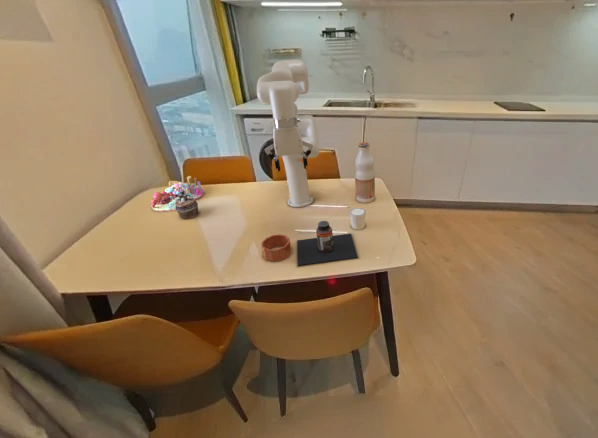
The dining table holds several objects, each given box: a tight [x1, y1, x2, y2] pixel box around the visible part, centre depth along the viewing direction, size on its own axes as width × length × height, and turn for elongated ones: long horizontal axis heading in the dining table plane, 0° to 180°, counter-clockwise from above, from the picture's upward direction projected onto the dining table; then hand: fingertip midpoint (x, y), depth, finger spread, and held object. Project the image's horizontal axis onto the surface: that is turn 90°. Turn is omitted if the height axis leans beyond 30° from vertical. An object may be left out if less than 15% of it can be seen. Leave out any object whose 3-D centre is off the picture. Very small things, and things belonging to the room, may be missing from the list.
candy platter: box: [150, 175, 205, 212], centre depth 162 cm, size 25×24×9 cm
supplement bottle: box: [315, 220, 334, 252], centre depth 119 cm, size 6×6×11 cm
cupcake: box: [175, 193, 200, 220], centre depth 147 cm, size 10×10×10 cm
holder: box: [260, 233, 292, 262], centre depth 120 cm, size 10×10×5 cm
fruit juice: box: [354, 141, 376, 204], centre depth 150 cm, size 9×9×28 cm
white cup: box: [349, 207, 366, 230], centre depth 134 cm, size 7×7×7 cm
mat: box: [296, 233, 359, 267], centre depth 122 cm, size 16×22×1 cm
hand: (292, 168), depth 119 cm, fingers open, 9 cm apart
